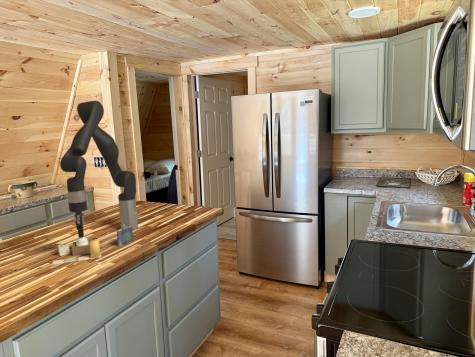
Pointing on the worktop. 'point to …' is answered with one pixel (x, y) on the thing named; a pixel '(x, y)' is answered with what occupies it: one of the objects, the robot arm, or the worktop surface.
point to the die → (63, 249)
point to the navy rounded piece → (124, 235)
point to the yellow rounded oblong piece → (94, 248)
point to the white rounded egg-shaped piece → (82, 241)
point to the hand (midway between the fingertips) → (81, 236)
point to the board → (77, 253)
